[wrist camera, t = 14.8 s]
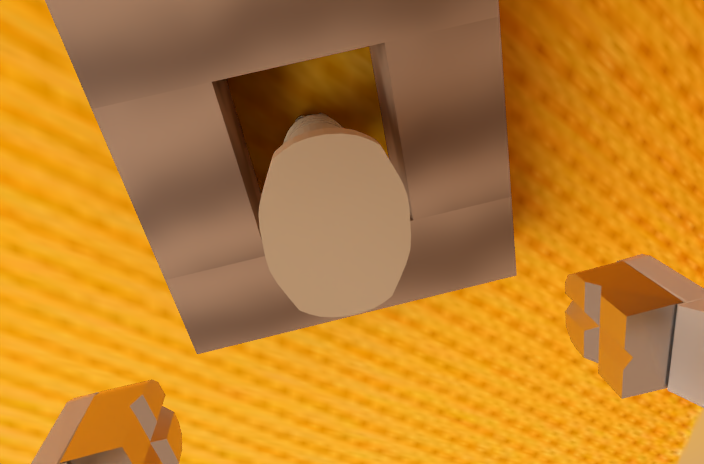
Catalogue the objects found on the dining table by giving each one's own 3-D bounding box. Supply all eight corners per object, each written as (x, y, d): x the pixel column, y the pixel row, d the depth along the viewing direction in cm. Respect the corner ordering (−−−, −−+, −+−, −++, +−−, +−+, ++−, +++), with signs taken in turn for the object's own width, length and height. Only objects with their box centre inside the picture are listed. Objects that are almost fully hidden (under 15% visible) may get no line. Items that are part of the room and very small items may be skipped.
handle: (347, 79, 28) (405, 123, 14) (357, 182, 30) (415, 305, 16) (266, 89, 27) (242, 144, 14) (283, 192, 30) (279, 326, 16)
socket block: (85, -5, 24) (38, -15, 20) (454, -86, 25) (490, -113, 20) (209, 309, 32) (197, 354, 28) (484, 242, 33) (516, 275, 28)
